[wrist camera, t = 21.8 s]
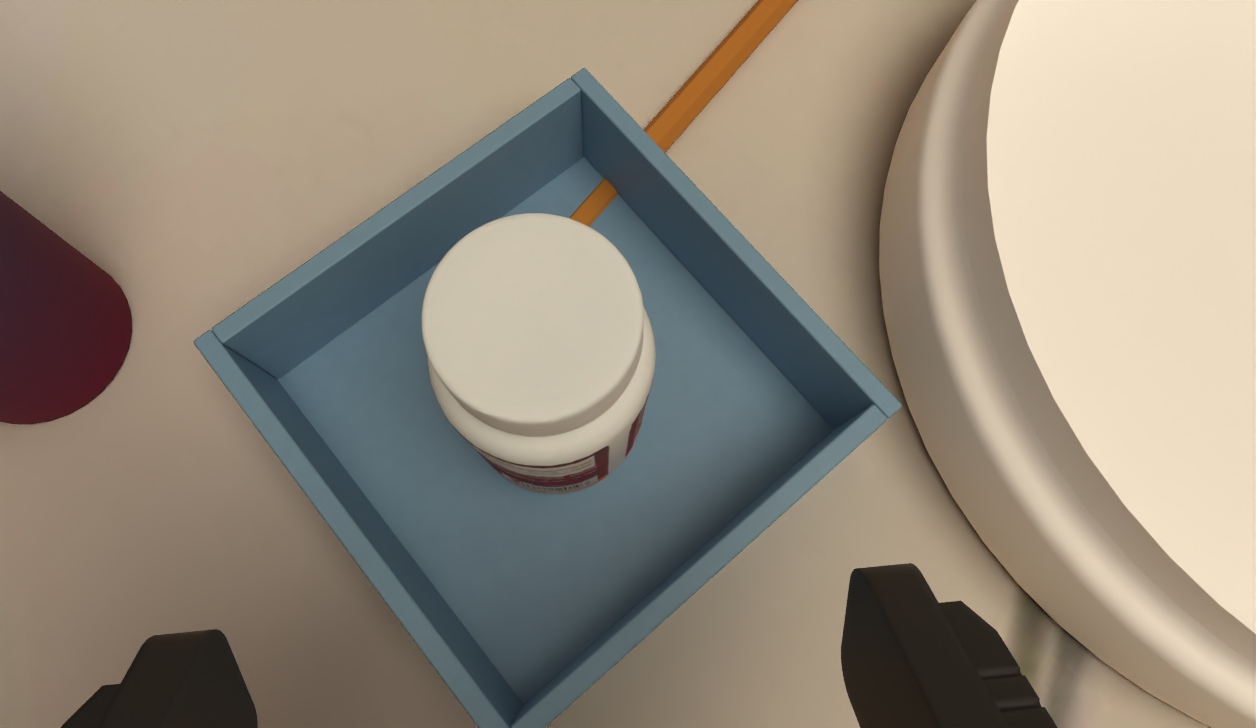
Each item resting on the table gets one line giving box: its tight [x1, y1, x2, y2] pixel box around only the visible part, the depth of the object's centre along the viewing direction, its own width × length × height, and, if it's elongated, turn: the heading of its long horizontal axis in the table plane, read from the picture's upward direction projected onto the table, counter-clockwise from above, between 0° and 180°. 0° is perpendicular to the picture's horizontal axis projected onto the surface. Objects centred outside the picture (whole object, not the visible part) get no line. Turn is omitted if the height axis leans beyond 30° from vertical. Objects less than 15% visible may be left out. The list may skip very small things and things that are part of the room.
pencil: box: [569, 0, 797, 227], centre depth 25 cm, size 1×1×19 cm
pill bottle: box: [422, 213, 656, 494], centre depth 18 cm, size 5×5×8 cm
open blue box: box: [194, 68, 902, 728], centre depth 21 cm, size 12×12×4 cm
